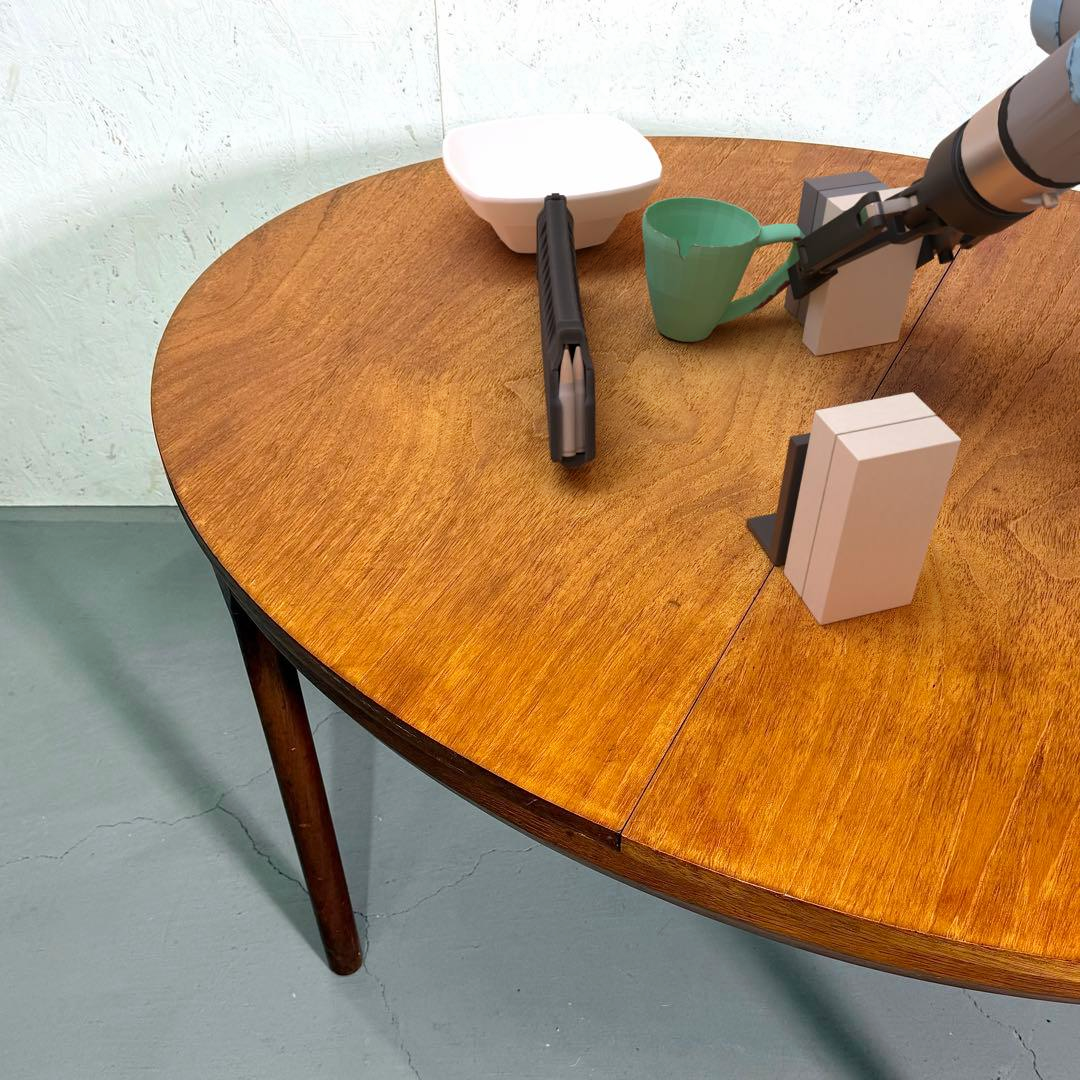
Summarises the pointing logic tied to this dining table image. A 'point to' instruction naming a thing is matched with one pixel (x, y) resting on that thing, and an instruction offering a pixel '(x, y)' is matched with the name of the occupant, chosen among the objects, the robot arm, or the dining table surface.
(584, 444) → the magazine
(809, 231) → the grey books
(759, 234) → the mug
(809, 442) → the white books
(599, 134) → the bowl
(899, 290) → the thin book
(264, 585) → the dining table surface
